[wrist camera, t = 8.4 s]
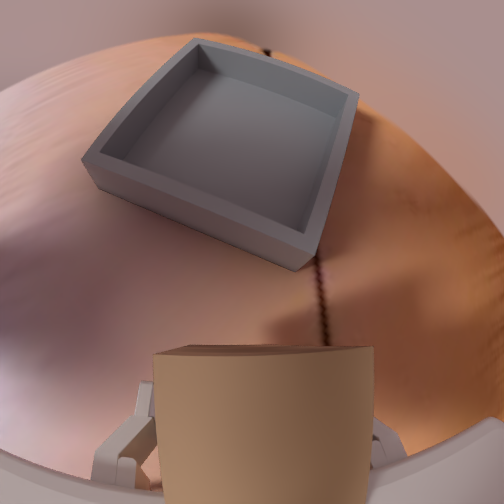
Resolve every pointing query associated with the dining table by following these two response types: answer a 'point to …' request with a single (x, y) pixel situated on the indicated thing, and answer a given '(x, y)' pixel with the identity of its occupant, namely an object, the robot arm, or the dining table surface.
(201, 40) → the bin
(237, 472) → the walnut block
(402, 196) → the dining table surface
